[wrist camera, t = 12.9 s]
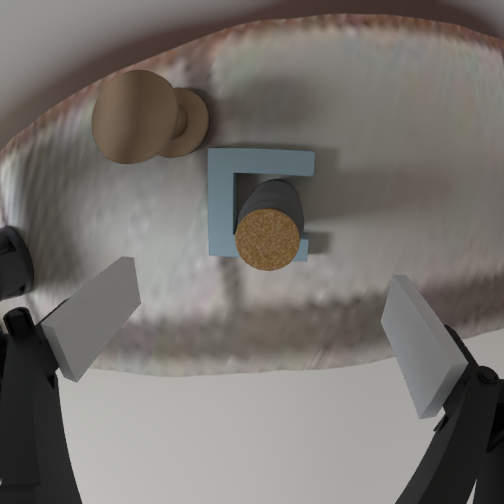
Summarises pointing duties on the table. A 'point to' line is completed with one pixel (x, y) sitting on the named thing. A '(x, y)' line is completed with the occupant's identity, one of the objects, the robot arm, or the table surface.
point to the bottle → (270, 226)
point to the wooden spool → (147, 118)
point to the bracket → (225, 189)
